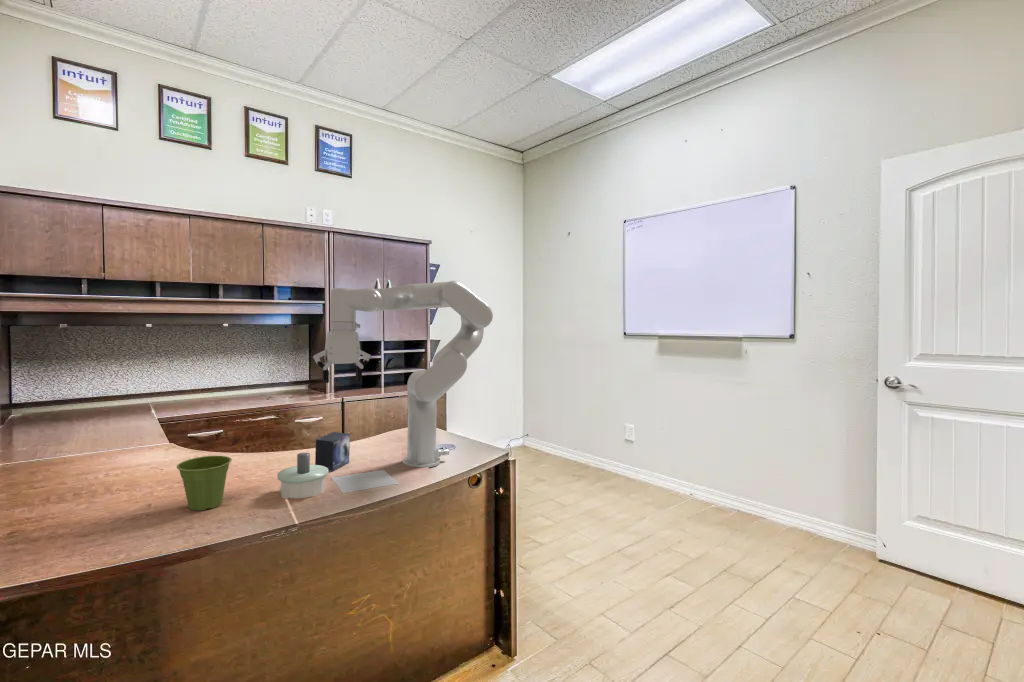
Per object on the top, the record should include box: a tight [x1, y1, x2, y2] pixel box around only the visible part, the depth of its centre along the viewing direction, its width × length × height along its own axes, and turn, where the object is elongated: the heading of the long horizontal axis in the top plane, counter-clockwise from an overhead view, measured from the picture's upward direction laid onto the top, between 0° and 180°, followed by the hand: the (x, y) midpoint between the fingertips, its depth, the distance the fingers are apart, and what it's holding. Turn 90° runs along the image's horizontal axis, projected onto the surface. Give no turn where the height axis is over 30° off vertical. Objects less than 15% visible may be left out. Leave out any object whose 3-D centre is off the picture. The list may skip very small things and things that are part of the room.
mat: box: [330, 469, 399, 494], centre depth 144 cm, size 16×14×1 cm
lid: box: [276, 452, 329, 483], centre depth 135 cm, size 13×13×6 cm
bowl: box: [280, 477, 326, 500], centre depth 135 cm, size 11×11×5 cm
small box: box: [314, 431, 351, 473], centre depth 157 cm, size 11×6×10 cm, turn 168°
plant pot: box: [176, 455, 233, 512], centre depth 124 cm, size 12×12×11 cm
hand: (342, 381), depth 154 cm, fingers open, 9 cm apart
